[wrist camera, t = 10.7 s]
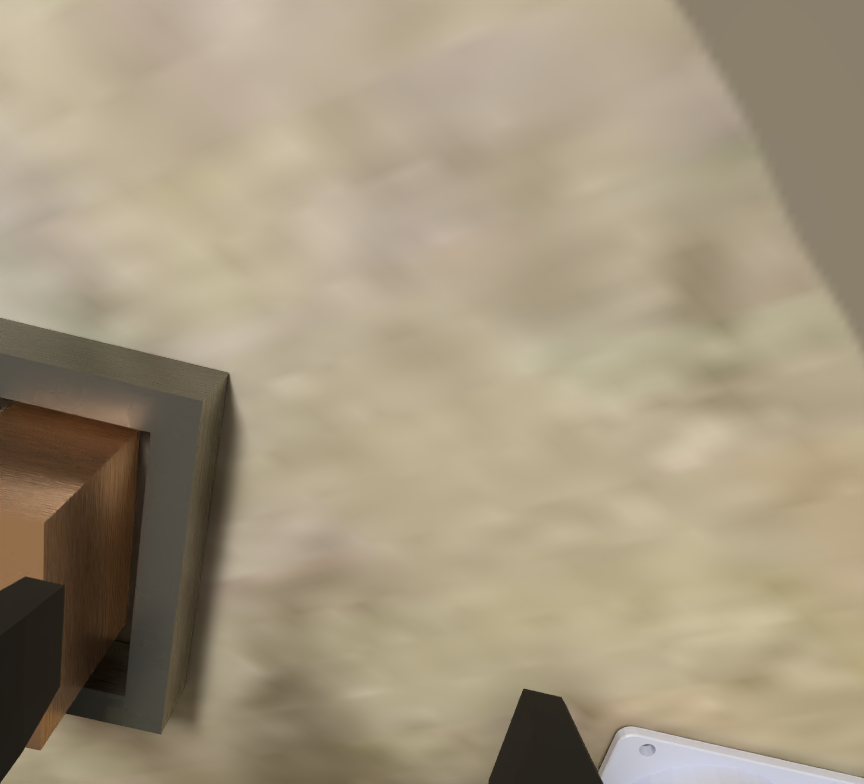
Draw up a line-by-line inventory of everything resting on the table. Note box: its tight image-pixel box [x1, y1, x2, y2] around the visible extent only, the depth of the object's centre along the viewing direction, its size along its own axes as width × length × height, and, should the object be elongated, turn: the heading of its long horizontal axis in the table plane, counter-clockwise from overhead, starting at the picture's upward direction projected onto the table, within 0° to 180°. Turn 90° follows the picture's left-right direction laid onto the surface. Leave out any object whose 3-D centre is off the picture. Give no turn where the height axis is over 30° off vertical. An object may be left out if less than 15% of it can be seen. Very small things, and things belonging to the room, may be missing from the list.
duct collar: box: [0, 318, 229, 734], centre depth 20 cm, size 8×11×2 cm
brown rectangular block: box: [0, 402, 140, 750], centre depth 19 cm, size 7×4×5 cm, turn 167°
